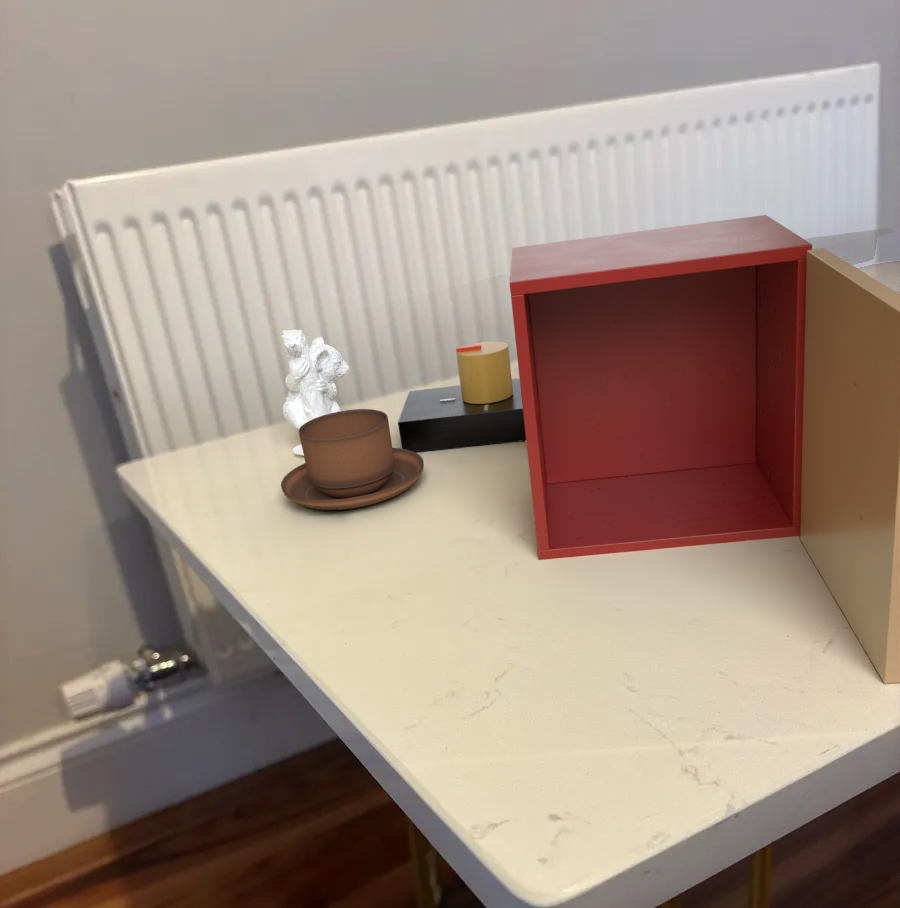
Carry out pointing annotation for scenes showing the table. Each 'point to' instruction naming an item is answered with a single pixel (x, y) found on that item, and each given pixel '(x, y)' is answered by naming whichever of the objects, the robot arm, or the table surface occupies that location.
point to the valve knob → (484, 372)
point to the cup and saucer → (350, 462)
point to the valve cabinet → (663, 385)
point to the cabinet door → (854, 449)
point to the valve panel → (459, 420)
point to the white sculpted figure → (310, 379)
